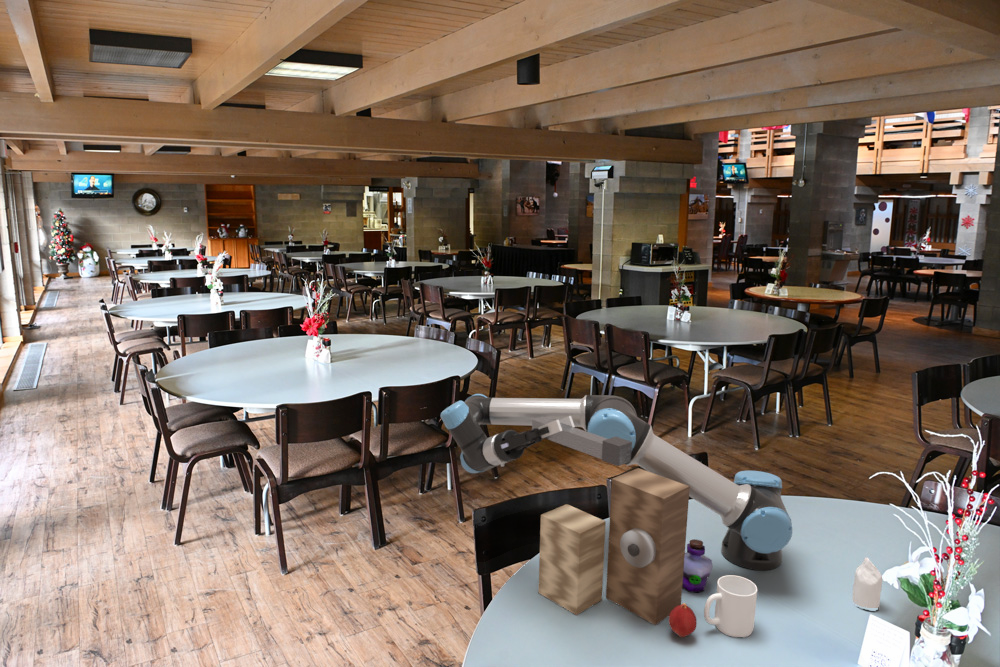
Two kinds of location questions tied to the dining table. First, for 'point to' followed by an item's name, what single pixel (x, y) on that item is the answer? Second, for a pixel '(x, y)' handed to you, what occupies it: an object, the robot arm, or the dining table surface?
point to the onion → (682, 620)
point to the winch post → (647, 543)
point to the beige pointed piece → (867, 585)
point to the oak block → (571, 558)
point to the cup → (733, 606)
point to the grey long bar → (590, 443)
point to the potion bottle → (696, 567)
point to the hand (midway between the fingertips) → (565, 423)
